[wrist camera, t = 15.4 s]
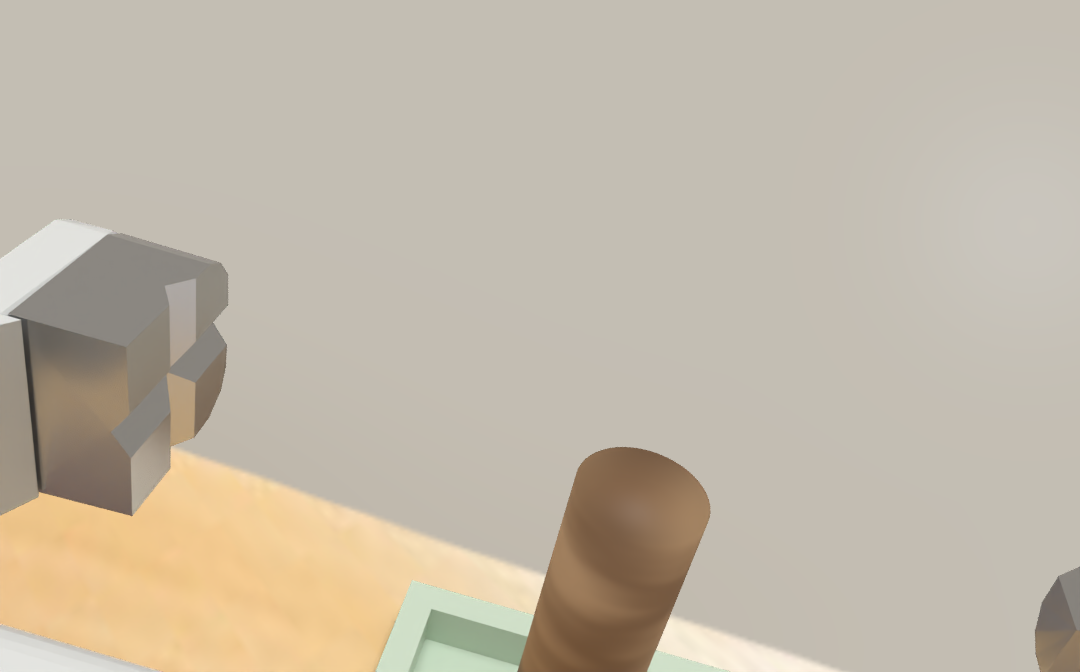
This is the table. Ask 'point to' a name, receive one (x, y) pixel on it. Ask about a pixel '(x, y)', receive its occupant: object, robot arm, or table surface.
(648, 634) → the dowel
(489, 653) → the tray
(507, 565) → the table surface
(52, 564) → the table surface
